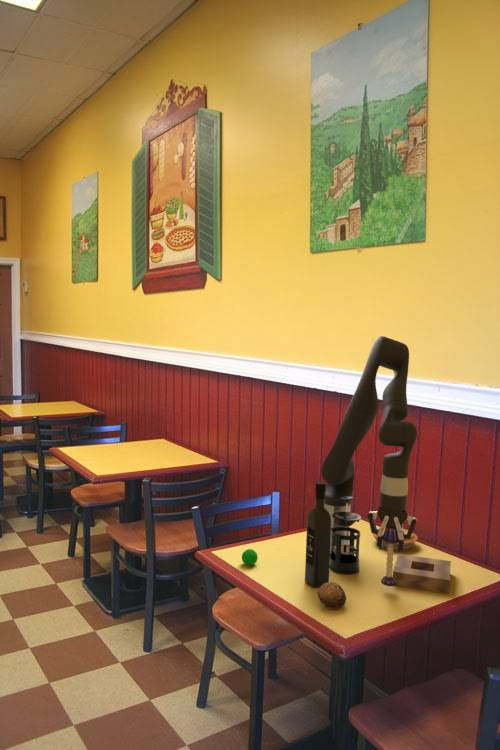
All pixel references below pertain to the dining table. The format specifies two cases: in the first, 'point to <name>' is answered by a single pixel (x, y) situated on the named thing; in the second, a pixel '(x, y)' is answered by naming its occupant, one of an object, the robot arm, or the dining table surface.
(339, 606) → the brown round lump
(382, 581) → the toy lamp
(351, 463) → the robot arm
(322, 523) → the wine bottle
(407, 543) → the pie
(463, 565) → the dining table surface
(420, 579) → the socket block
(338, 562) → the french press
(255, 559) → the green ball
